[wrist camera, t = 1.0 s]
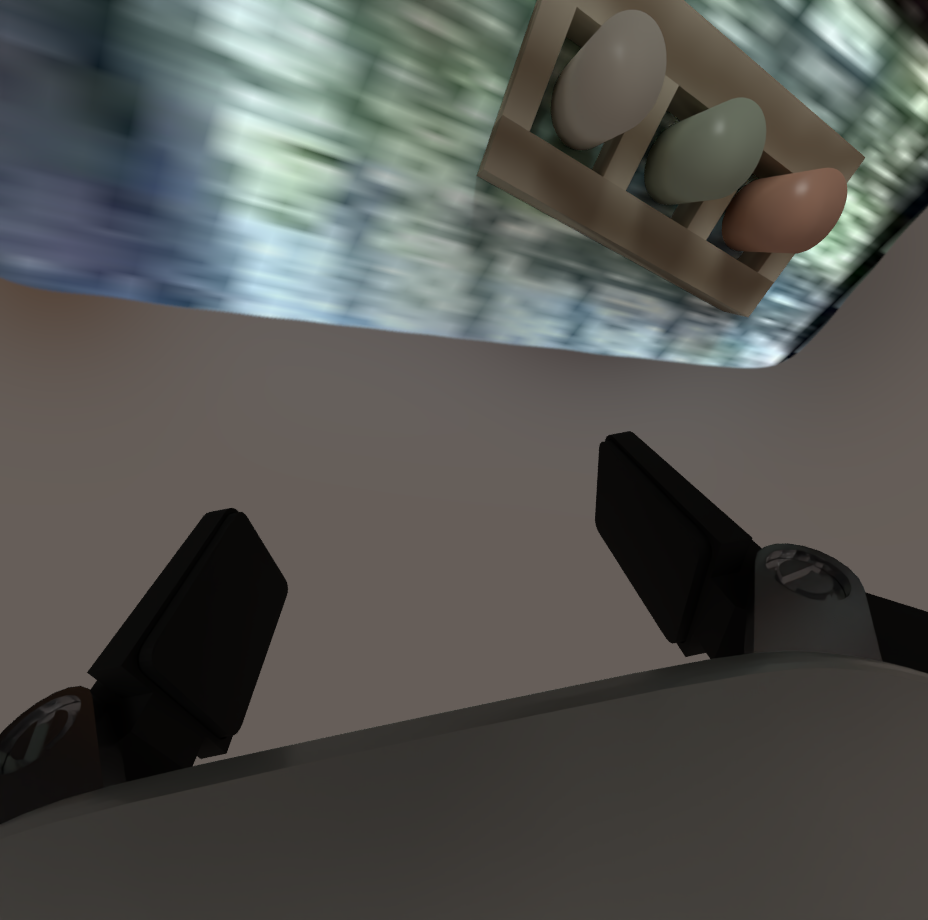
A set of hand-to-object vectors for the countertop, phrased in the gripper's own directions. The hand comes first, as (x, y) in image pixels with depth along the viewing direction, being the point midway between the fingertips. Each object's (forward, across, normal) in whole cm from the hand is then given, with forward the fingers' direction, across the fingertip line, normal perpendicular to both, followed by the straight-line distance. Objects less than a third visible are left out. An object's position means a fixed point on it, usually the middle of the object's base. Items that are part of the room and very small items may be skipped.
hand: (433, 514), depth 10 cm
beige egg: (+24, -14, -12) cm, 30 cm away
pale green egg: (+24, -21, -8) cm, 33 cm away
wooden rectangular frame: (+26, -21, -8) cm, 34 cm away
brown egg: (+24, -28, -4) cm, 37 cm away
